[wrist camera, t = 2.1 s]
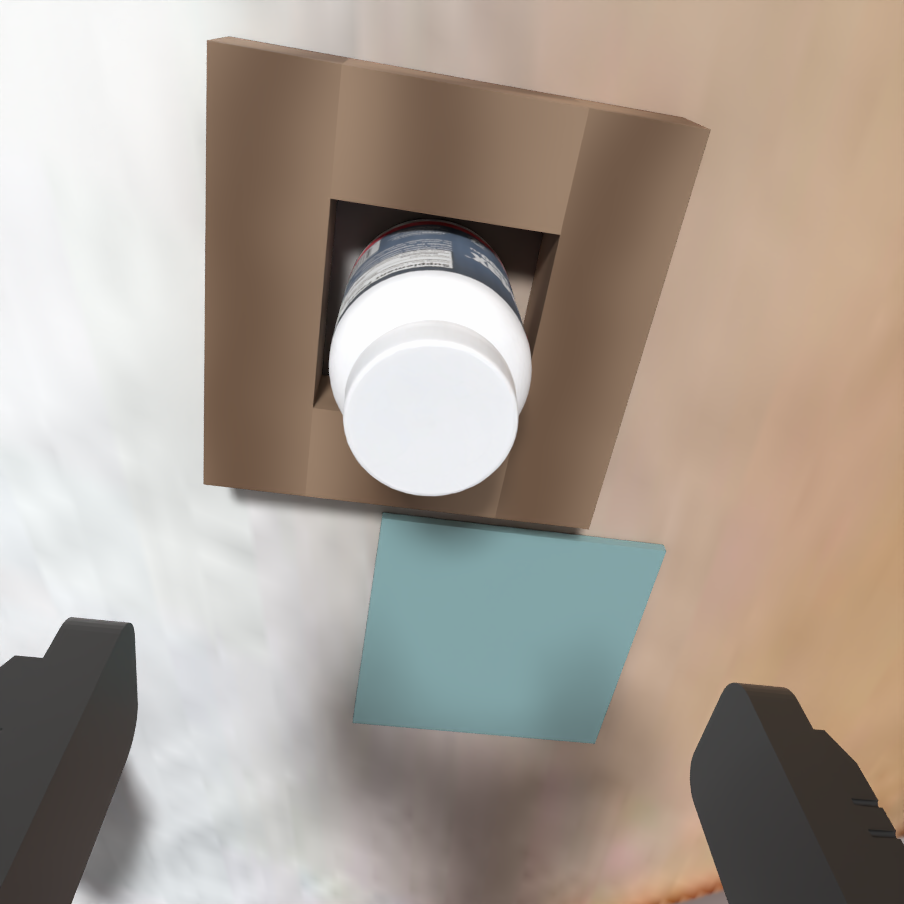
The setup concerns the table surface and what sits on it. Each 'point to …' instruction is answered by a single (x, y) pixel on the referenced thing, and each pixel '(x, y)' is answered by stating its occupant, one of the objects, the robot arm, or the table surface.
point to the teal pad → (499, 628)
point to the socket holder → (437, 193)
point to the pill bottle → (429, 359)
